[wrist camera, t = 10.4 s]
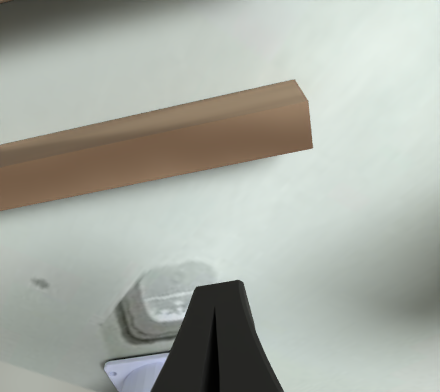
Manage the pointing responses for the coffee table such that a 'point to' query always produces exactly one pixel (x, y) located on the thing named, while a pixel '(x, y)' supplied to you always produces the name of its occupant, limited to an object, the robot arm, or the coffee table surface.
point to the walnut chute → (156, 145)
